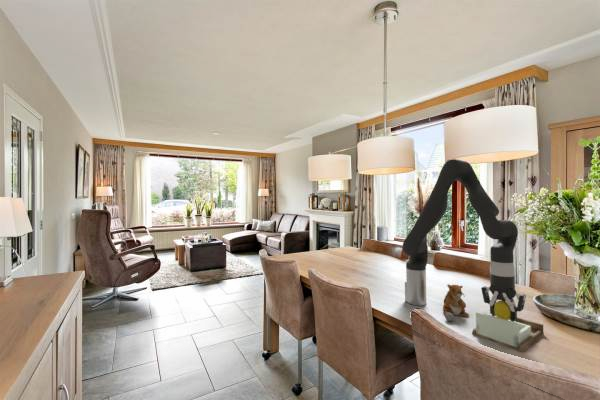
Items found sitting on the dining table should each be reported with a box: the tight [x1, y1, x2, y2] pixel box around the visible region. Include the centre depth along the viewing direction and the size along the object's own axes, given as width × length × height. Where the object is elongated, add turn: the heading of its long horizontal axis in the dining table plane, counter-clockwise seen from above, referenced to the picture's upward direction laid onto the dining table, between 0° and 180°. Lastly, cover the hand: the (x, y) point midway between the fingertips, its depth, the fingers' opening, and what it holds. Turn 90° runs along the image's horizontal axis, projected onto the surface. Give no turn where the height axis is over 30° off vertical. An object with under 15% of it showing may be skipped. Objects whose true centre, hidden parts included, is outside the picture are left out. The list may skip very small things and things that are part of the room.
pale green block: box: [475, 311, 531, 348], centre depth 105 cm, size 13×13×8 cm
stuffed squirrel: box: [442, 283, 470, 318], centre depth 129 cm, size 10×14×13 cm
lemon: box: [494, 300, 511, 320], centre depth 105 cm, size 6×6×8 cm
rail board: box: [471, 316, 545, 353], centre depth 107 cm, size 16×21×4 cm
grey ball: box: [444, 313, 455, 322], centre depth 120 cm, size 4×4×4 cm
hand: (503, 317), depth 105 cm, fingers closed on lemon, 5 cm apart
